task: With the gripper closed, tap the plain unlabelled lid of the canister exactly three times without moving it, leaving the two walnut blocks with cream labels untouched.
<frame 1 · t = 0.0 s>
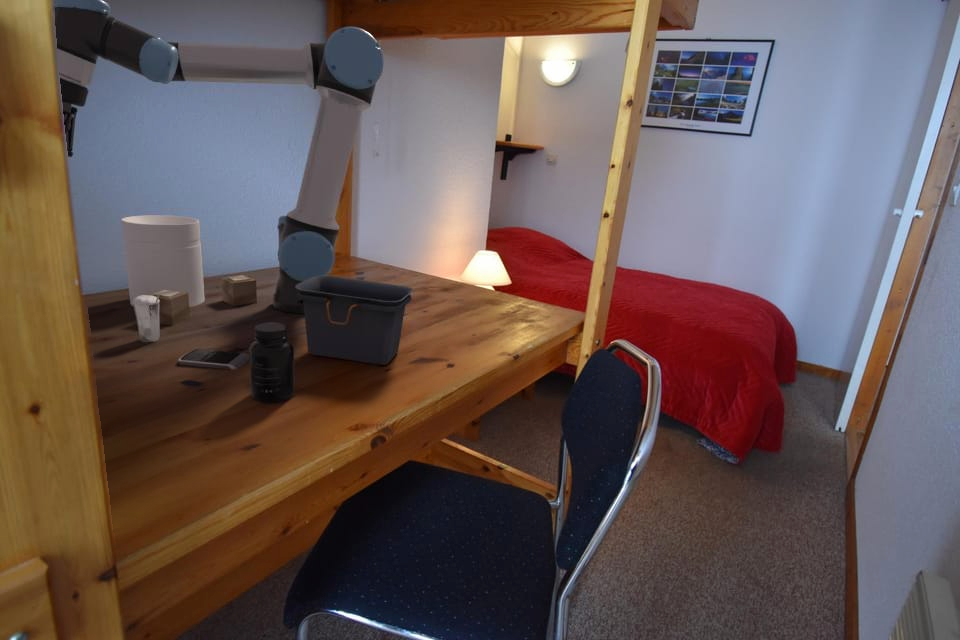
hand: (36, 187, 101), 28 cm above the table, tool tilted 20°, fingers open, 13 cm apart
walnut block right: (239, 301, 137), on the table
storage bin: (353, 356, 109), on the table
walnut block left: (169, 320, 119), on the table
canister: (168, 301, 132), on the table
supplement bottle: (273, 396, 89), on the table
cell phone: (214, 364, 100), on the table
milkshake: (151, 341, 107), on the table
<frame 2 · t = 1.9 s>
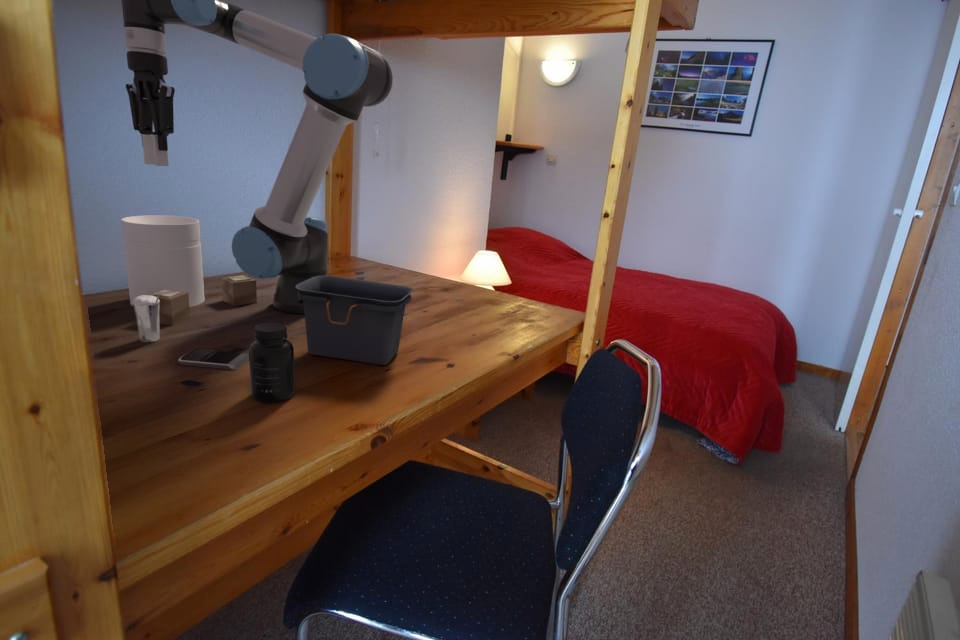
hand: (156, 164, 123), 33 cm above the table, tool pointing down, fingers open, 3 cm apart
nothing on the table moved.
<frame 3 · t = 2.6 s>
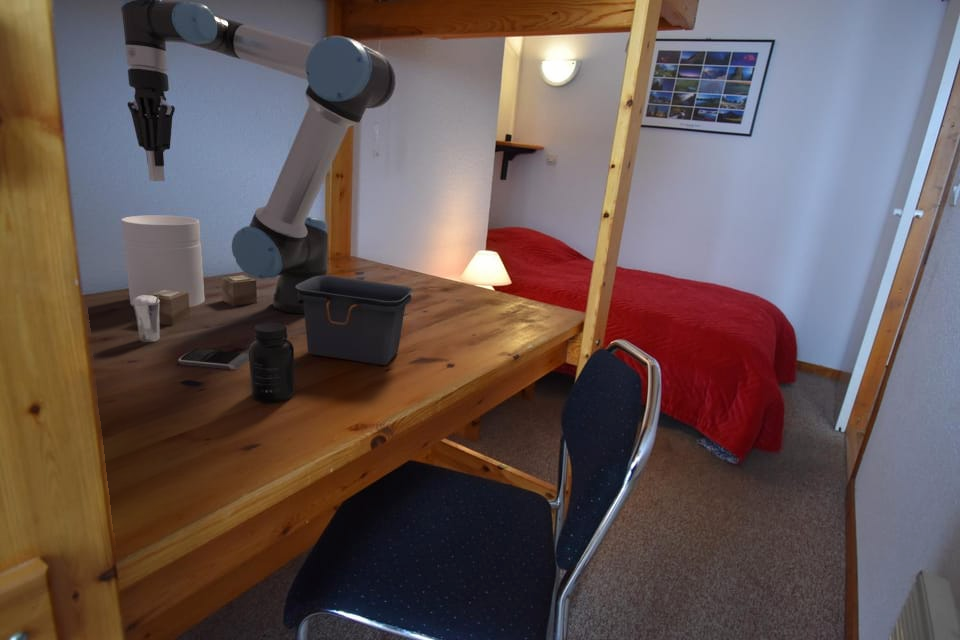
hand: (157, 180, 124), 29 cm above the table, tool pointing down, fingers closed
nothing on the table moved.
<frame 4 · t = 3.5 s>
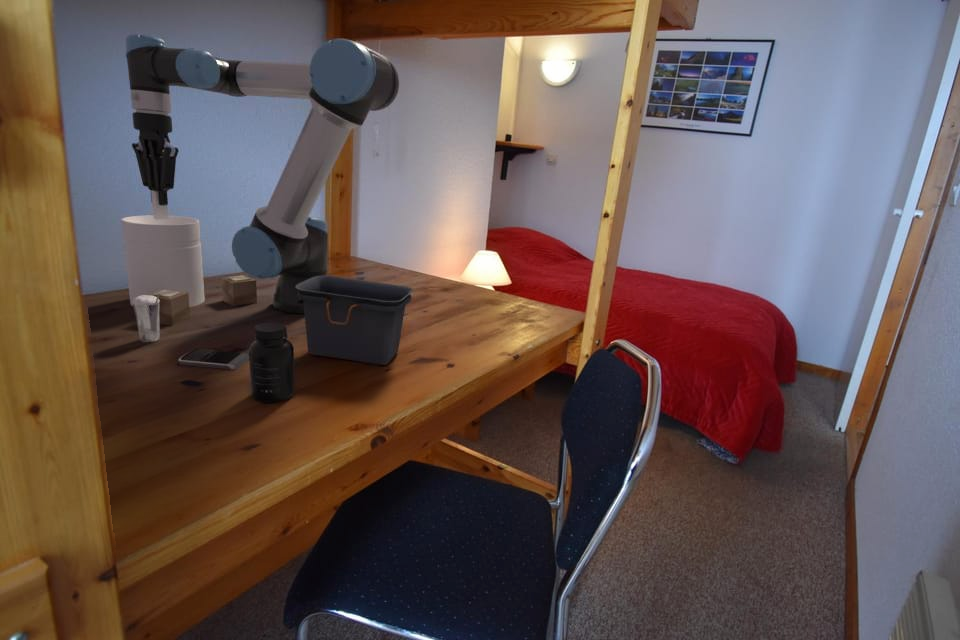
hand: (161, 218, 126), 20 cm above the table, tool pointing down, fingers closed
canister: (168, 301, 132), on the table, touching gripper
everything else where it was.
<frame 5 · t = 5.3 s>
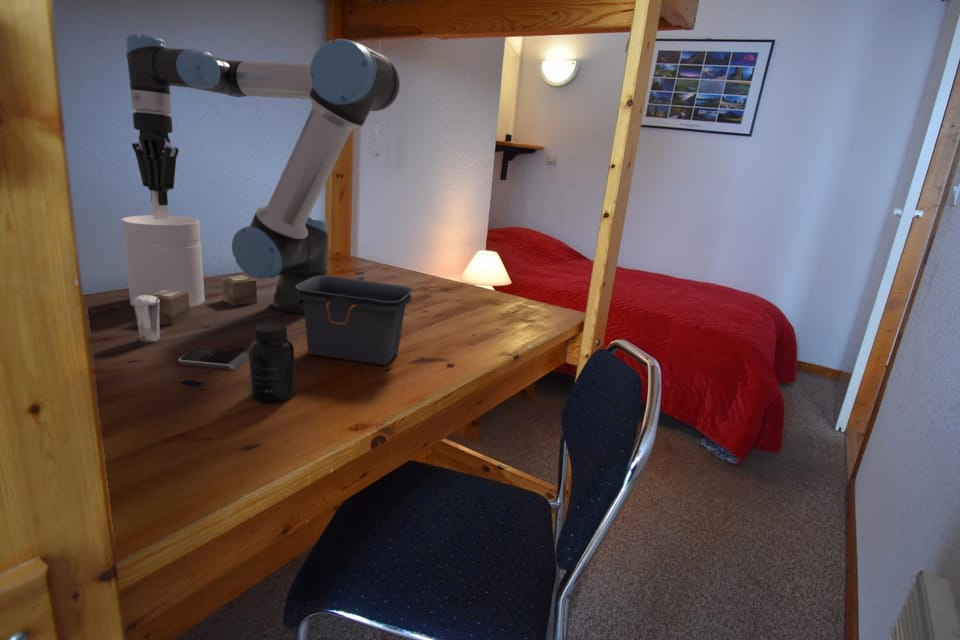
hand: (160, 218, 126), 20 cm above the table, tool pointing down, fingers closed
nothing on the table moved.
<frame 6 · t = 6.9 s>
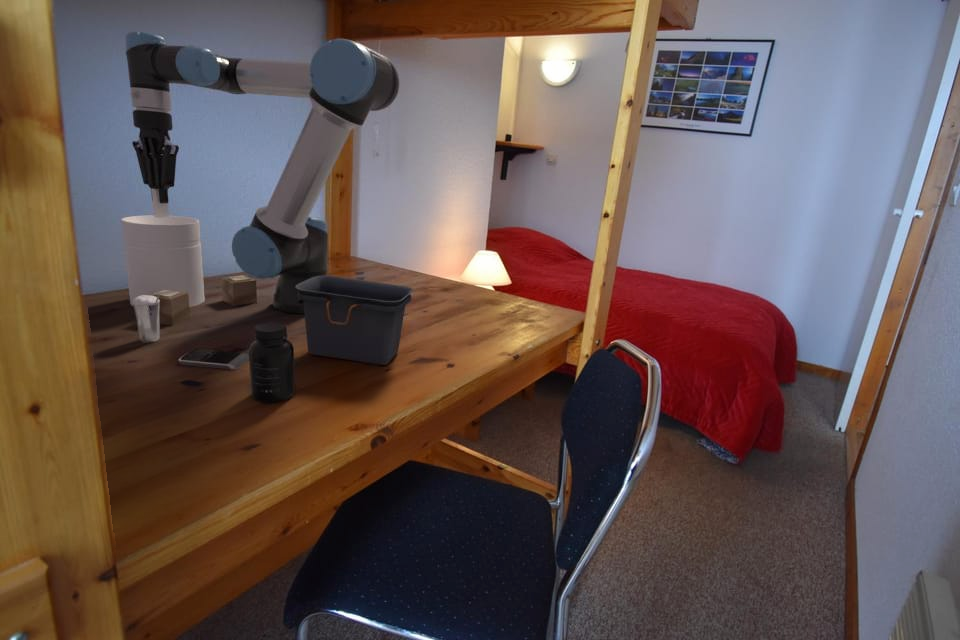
hand: (161, 216, 126), 21 cm above the table, tool pointing down, fingers closed
canister: (168, 301, 132), on the table
everything else where it was.
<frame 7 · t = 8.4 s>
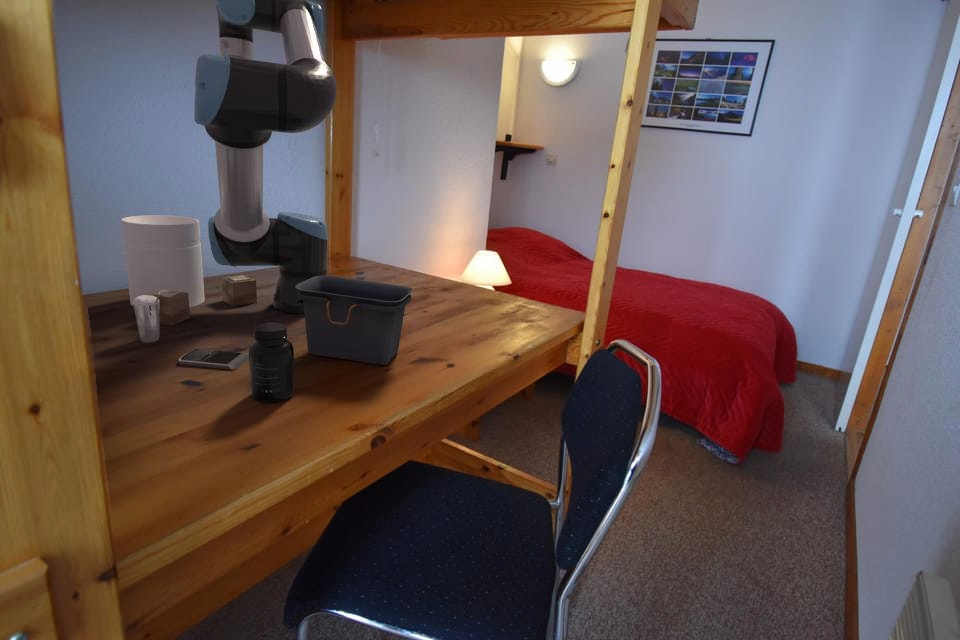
hand: (241, 161, 136), 34 cm above the table, tool pointing down, fingers closed
nothing on the table moved.
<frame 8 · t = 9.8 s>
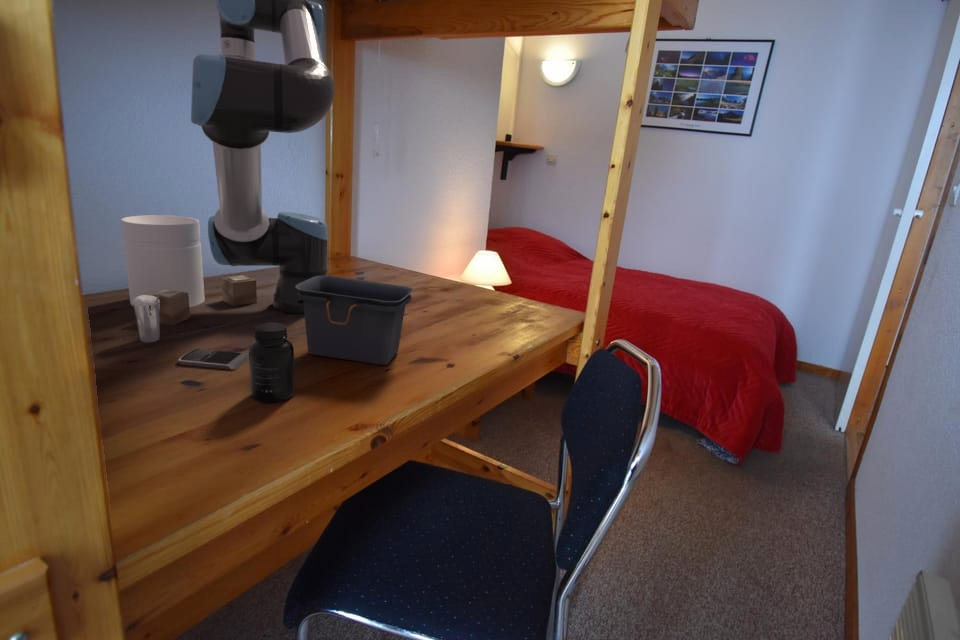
hand: (242, 161, 136), 34 cm above the table, tool pointing down, fingers closed
nothing on the table moved.
at the end: canister moved 0.2 cm from its start; canister tilted 0°; walnut block left moved 0.1 cm from its start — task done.
